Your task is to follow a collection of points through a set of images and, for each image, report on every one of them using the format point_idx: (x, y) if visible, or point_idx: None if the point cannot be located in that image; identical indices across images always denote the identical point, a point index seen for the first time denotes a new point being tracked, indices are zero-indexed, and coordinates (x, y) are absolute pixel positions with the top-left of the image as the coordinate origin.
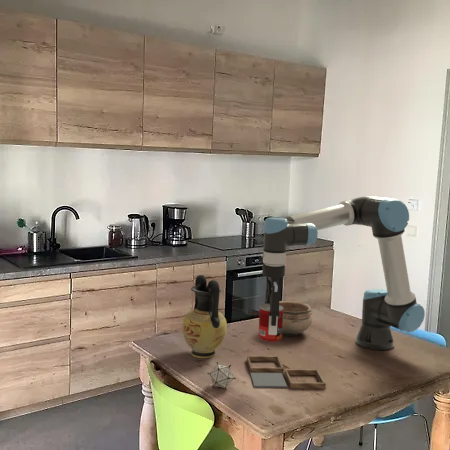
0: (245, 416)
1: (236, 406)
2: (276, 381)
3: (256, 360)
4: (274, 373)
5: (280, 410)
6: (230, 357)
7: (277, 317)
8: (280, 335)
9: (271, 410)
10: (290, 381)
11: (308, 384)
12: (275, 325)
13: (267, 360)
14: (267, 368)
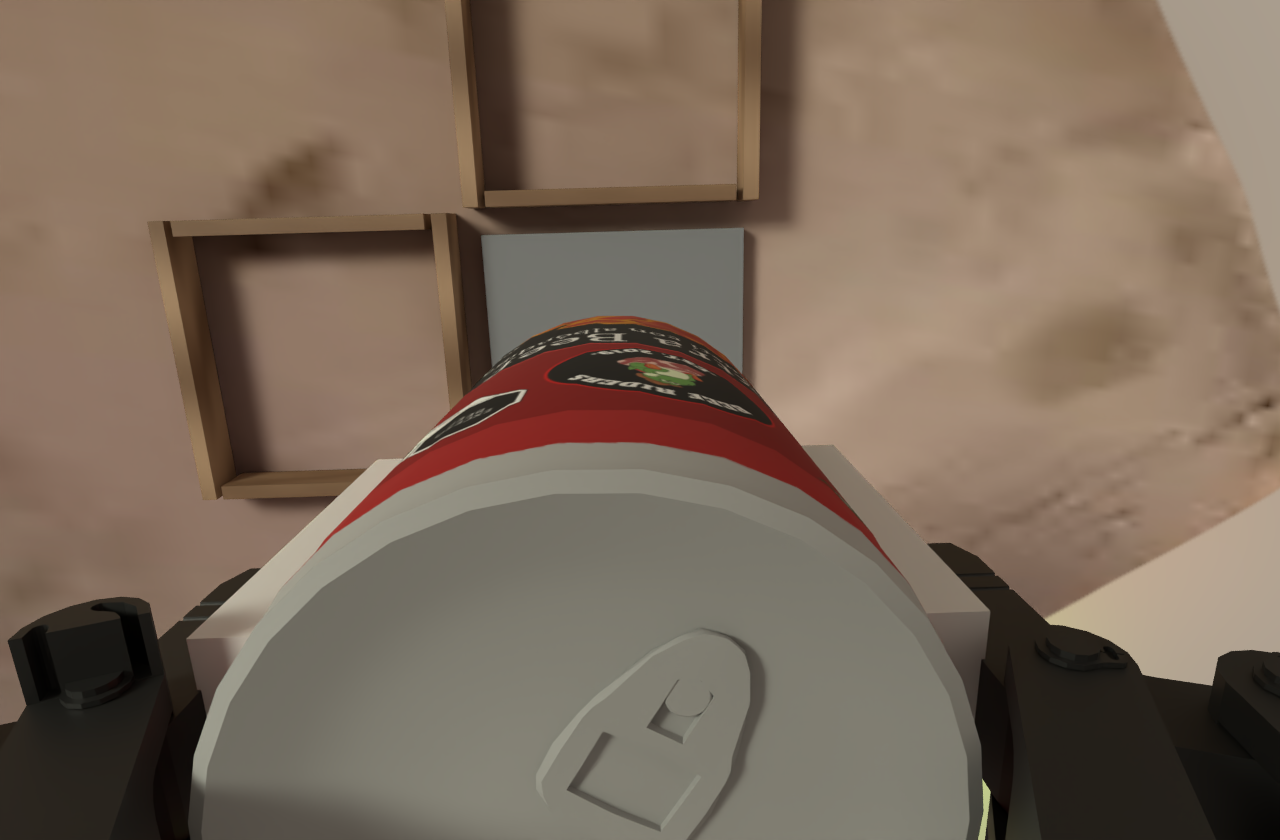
0: (1147, 553)
1: None
2: (660, 302)
3: (221, 413)
4: (500, 298)
5: (1099, 330)
6: (186, 603)
7: (964, 590)
8: (729, 361)
9: (1092, 390)
10: (726, 196)
11: (758, 36)
12: (958, 555)
13: (202, 320)
14: (459, 356)
